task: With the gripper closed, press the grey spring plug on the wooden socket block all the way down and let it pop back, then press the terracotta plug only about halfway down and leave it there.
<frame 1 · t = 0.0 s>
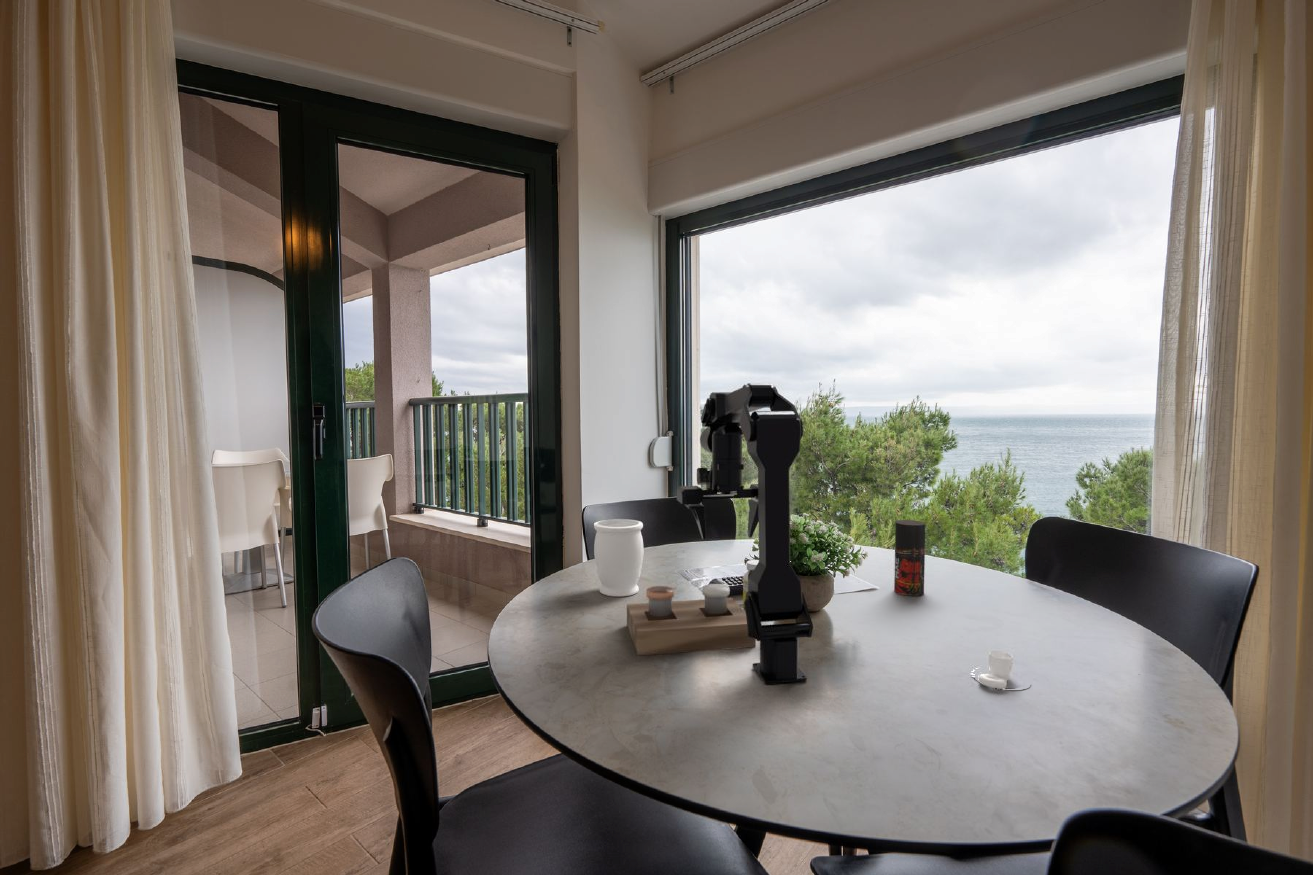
hand: (726, 538, 125), 15 cm above the table, tool pointing down, fingers open, 9 cm apart
wooden socket block: (688, 635, 114), on the table
deodorant: (909, 592, 139), on the table
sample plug: (715, 598, 114), point 6 cm above the table, slide at 0.2 cm
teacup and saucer: (977, 680, 97), on the table
supplement bottle: (757, 612, 127), on the table
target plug: (660, 600, 113), point 7 cm above the table, slide at 0.0 cm
jar: (619, 592, 140), on the table
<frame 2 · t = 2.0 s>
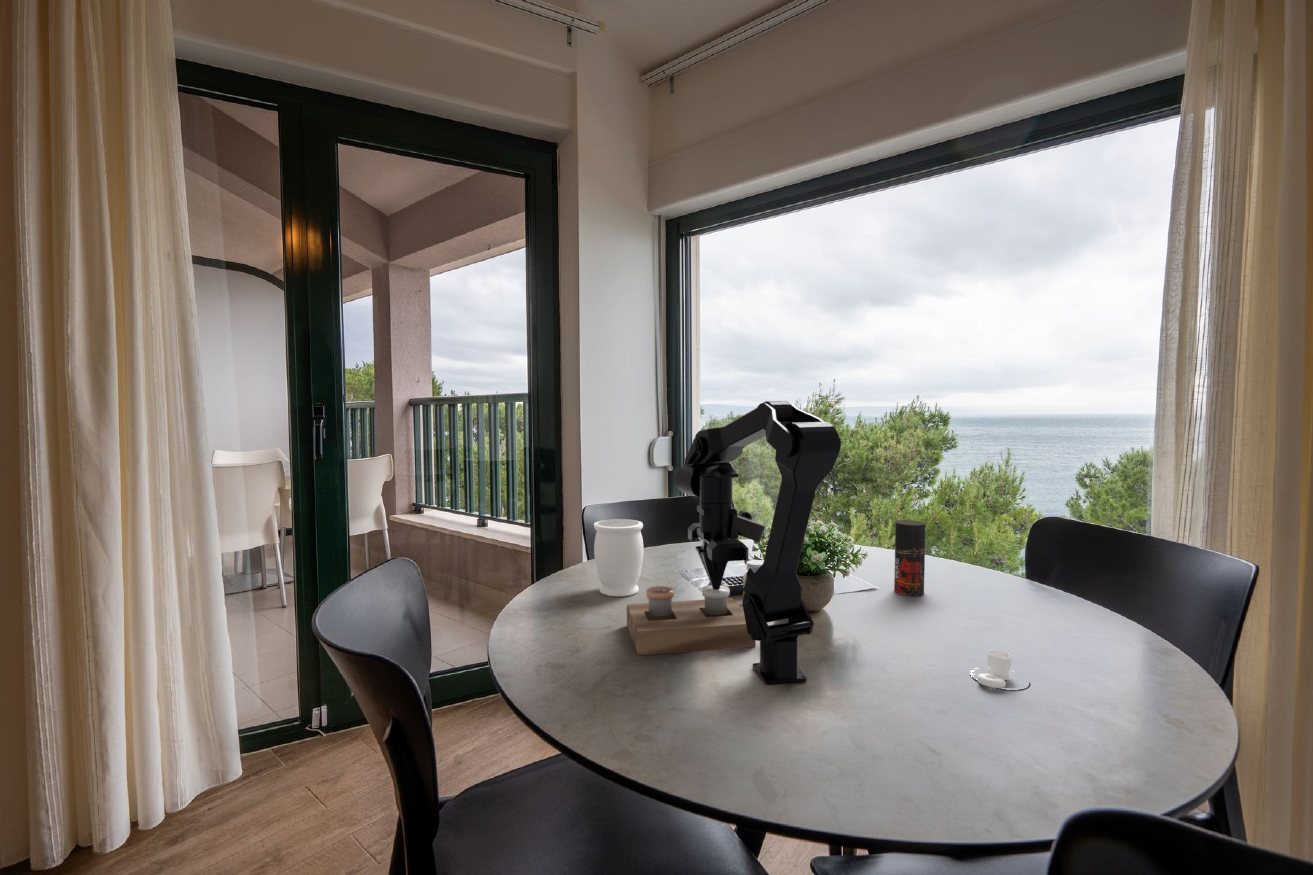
hand: (716, 588, 114), 8 cm above the table, tool pointing down, fingers closed, pressing on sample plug
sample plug: (715, 599, 114), point 6 cm above the table, slide at 0.4 cm, touching gripper
everything else where it was.
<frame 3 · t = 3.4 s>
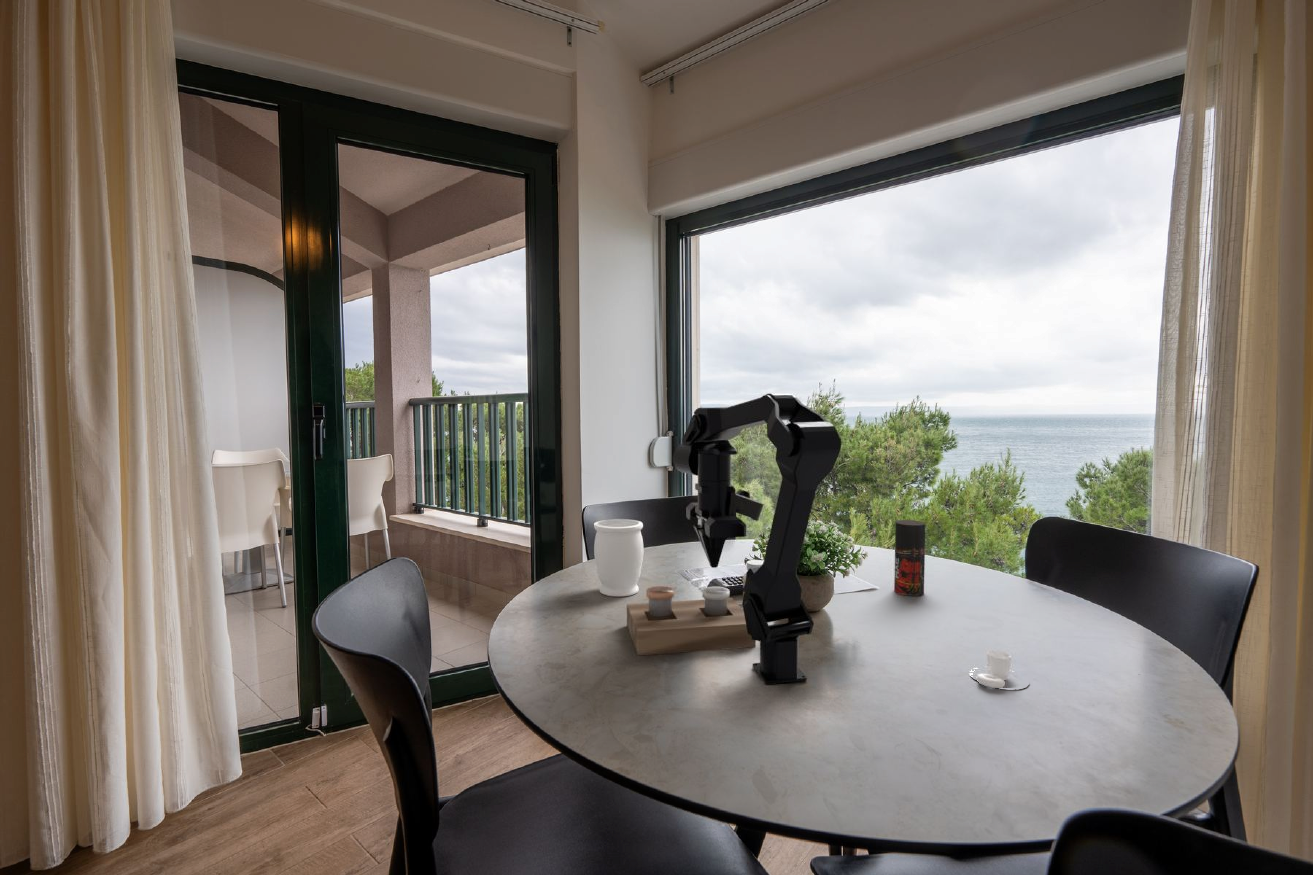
hand: (714, 567, 114), 12 cm above the table, tool pointing down, fingers closed
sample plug: (715, 601, 114), point 6 cm above the table, slide at 0.7 cm
everything else where it was.
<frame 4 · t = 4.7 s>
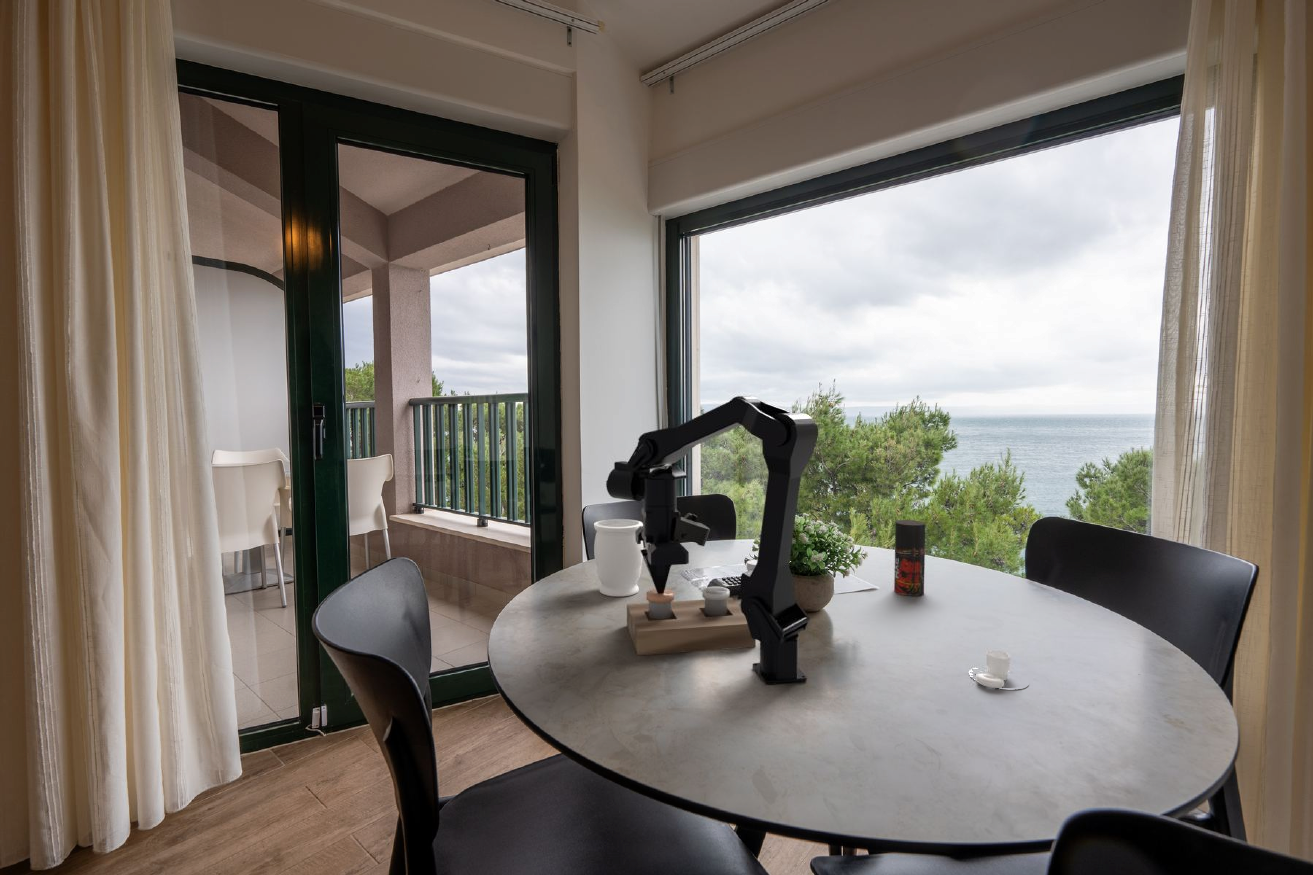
hand: (660, 592, 113), 8 cm above the table, tool pointing down, fingers closed, pressing on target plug
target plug: (660, 604, 113), point 6 cm above the table, slide at 0.6 cm, touching gripper
everything else where it was.
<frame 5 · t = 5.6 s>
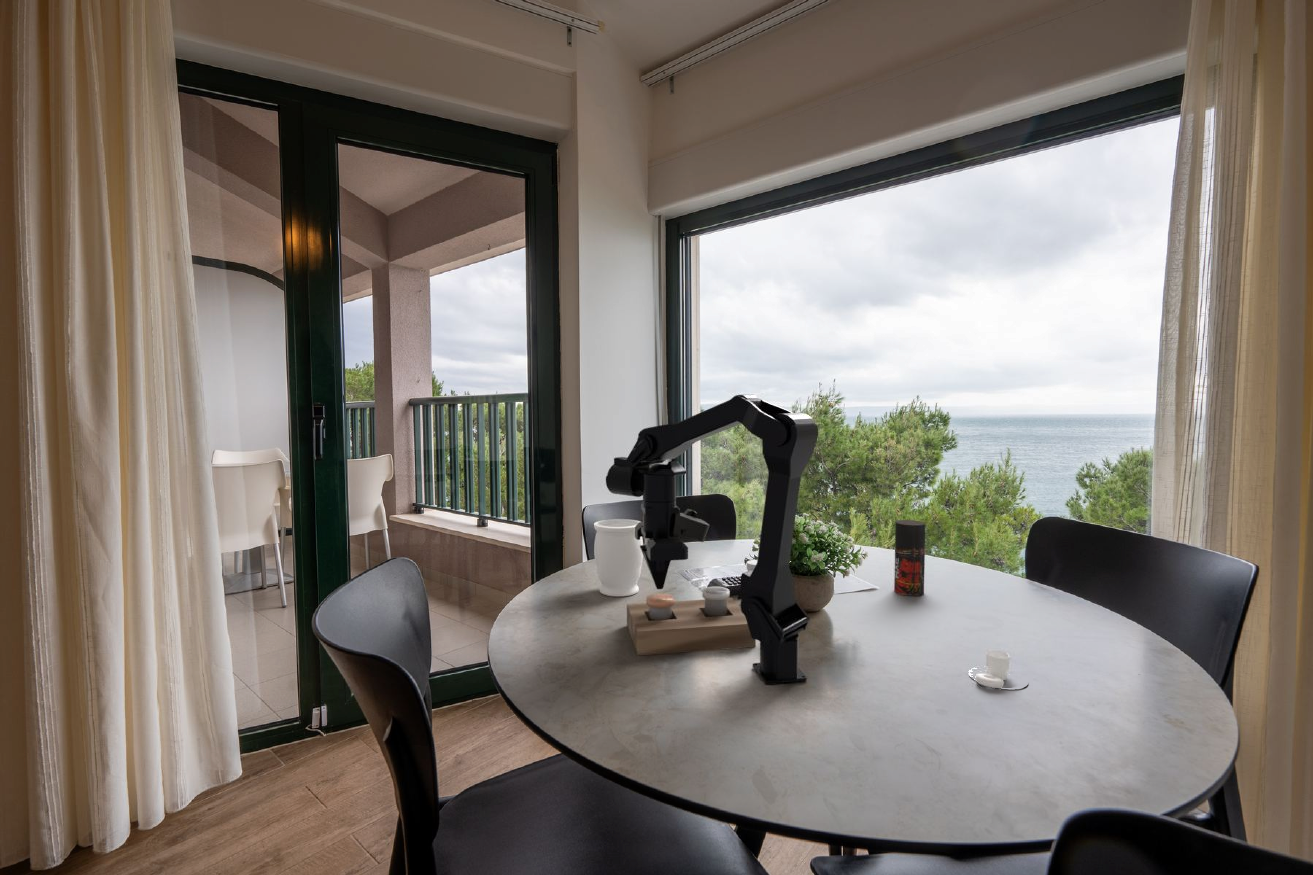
hand: (659, 588, 113), 9 cm above the table, tool pointing down, fingers closed
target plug: (660, 609, 113), point 5 cm above the table, slide at 1.4 cm
everything else where it was.
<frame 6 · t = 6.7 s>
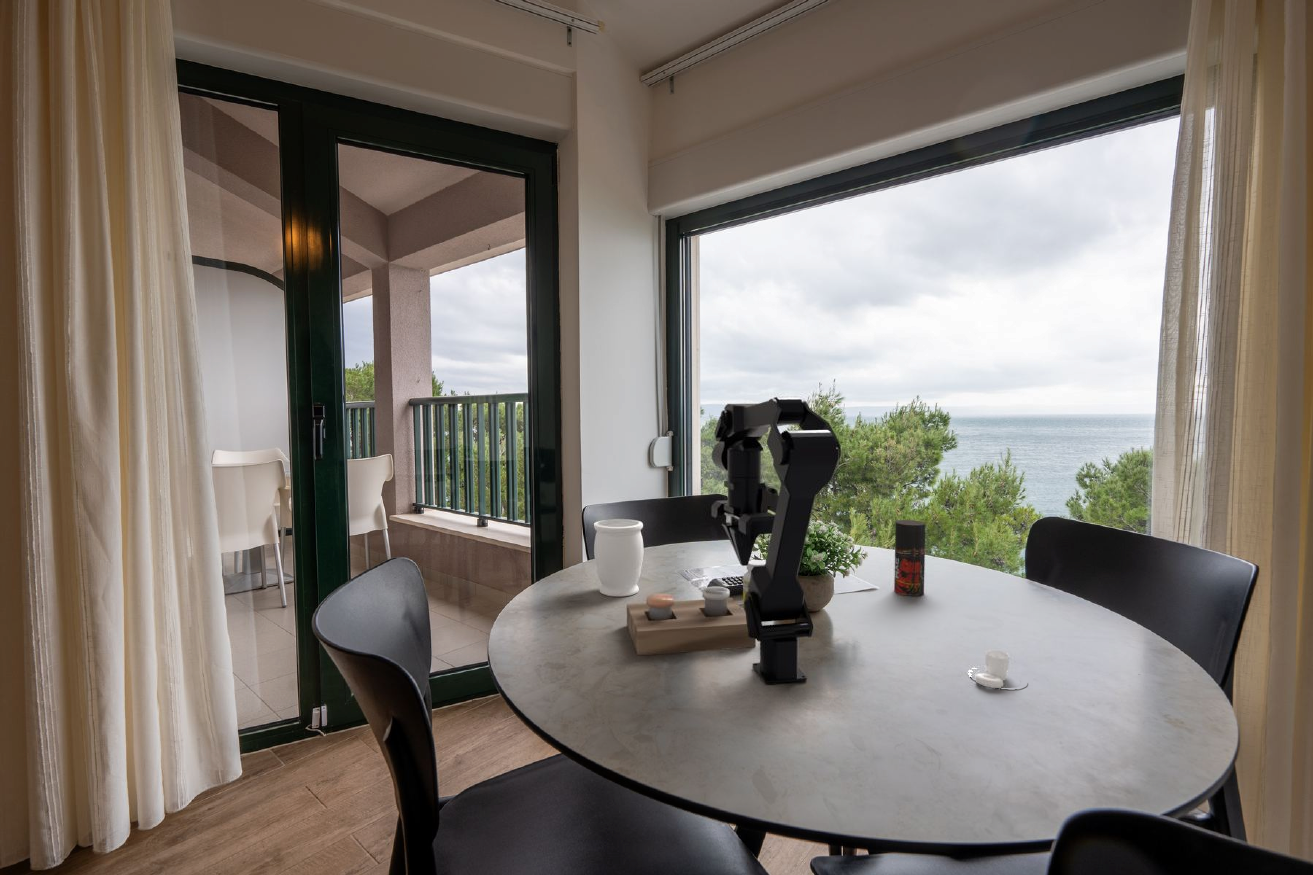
hand: (744, 565, 113), 13 cm above the table, tool pointing down, fingers closed
nothing on the table moved.
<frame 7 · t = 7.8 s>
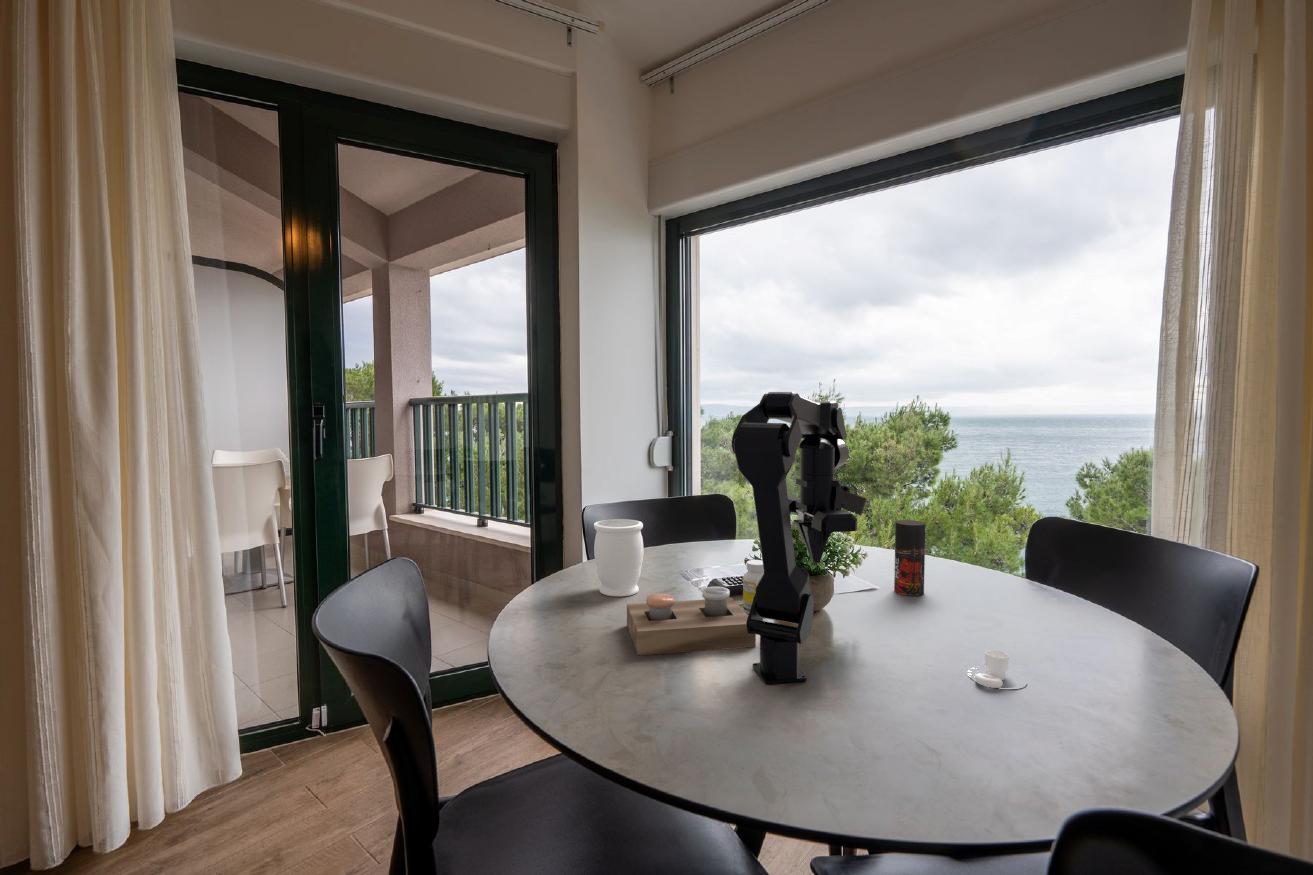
hand: (816, 562, 113), 13 cm above the table, tool pointing down, fingers closed
nothing on the table moved.
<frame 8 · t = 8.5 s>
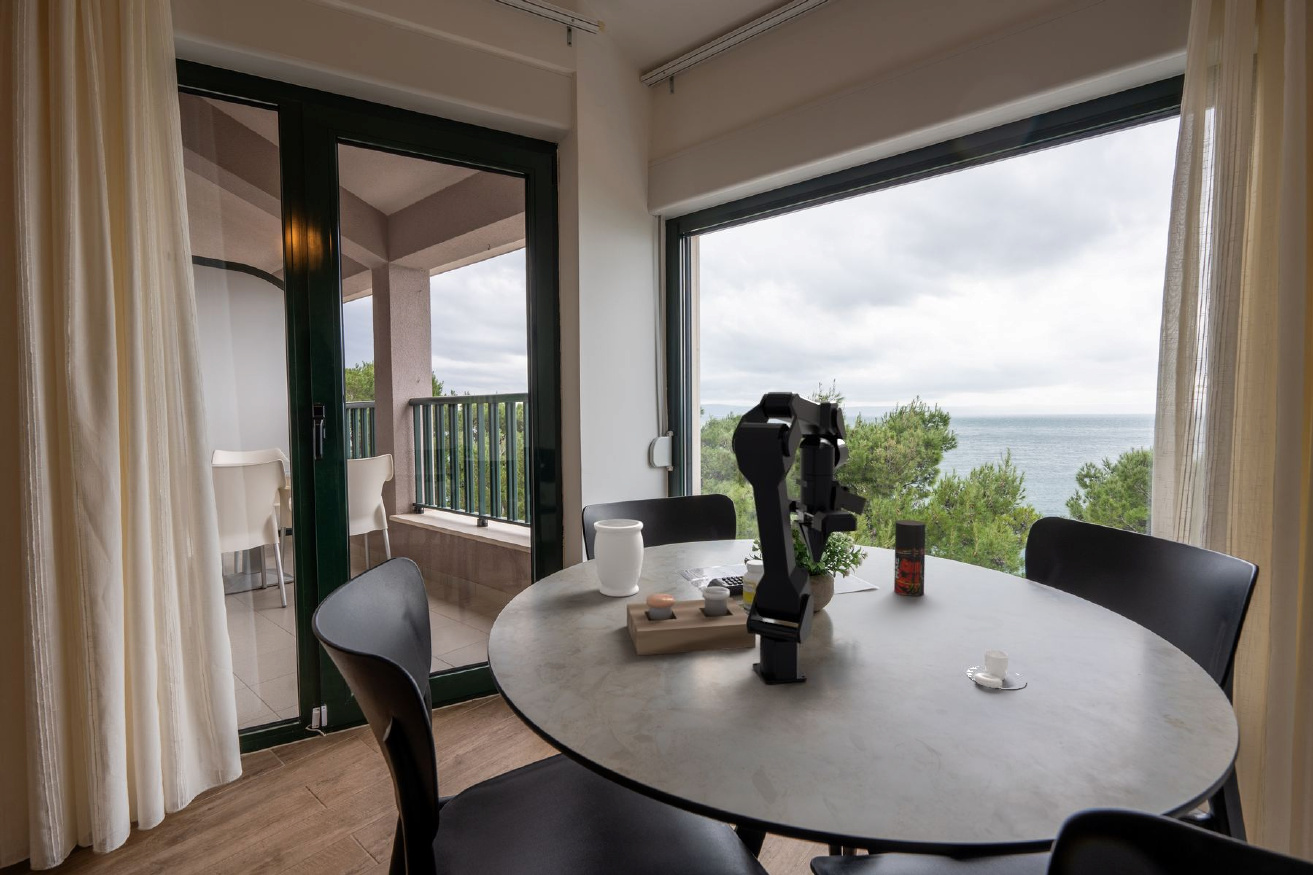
hand: (816, 562, 113), 13 cm above the table, tool pointing down, fingers closed
nothing on the table moved.
at the end: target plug slide at 1.4 cm; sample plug slide at 0.7 cm; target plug touching nothing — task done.
